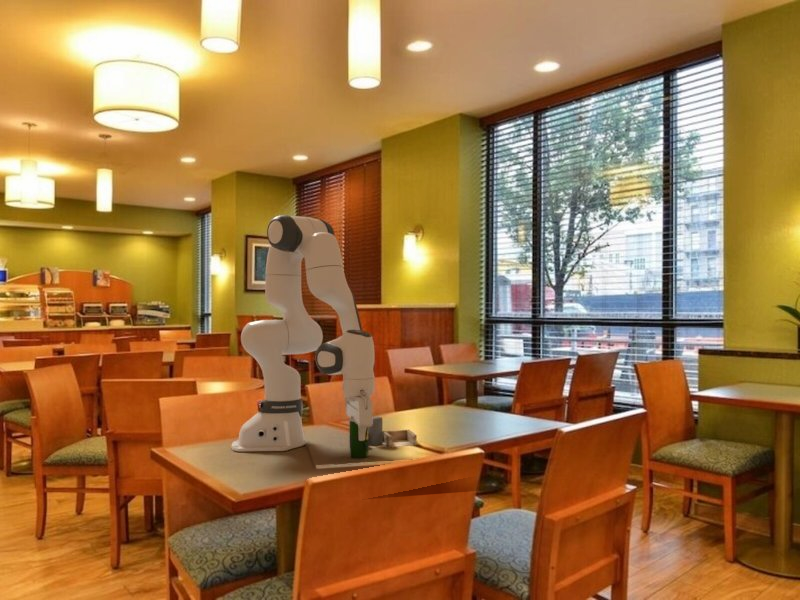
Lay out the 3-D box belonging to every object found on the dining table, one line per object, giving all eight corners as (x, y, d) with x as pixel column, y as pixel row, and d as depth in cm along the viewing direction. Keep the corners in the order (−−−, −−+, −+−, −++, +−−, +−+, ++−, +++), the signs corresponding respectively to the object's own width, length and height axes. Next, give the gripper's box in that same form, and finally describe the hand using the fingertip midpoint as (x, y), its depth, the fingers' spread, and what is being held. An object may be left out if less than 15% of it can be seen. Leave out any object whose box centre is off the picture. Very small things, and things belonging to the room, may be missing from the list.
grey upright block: (368, 446, 179) (368, 419, 179) (366, 443, 183) (366, 416, 183) (383, 445, 180) (383, 418, 180) (380, 442, 184) (380, 416, 184)
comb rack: (363, 451, 176) (363, 438, 176) (358, 445, 185) (358, 432, 185) (416, 448, 180) (416, 435, 180) (409, 442, 188) (409, 429, 189)
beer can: (350, 462, 163) (350, 418, 163) (348, 458, 168) (348, 415, 168) (370, 461, 164) (370, 417, 164) (366, 457, 169) (366, 414, 170)
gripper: (378, 392, 157) (378, 444, 157) (362, 383, 177) (362, 430, 177) (355, 393, 156) (355, 446, 155) (341, 384, 175) (341, 431, 175)
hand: (359, 437), depth 166 cm, fingers closed on beer can, 5 cm apart
